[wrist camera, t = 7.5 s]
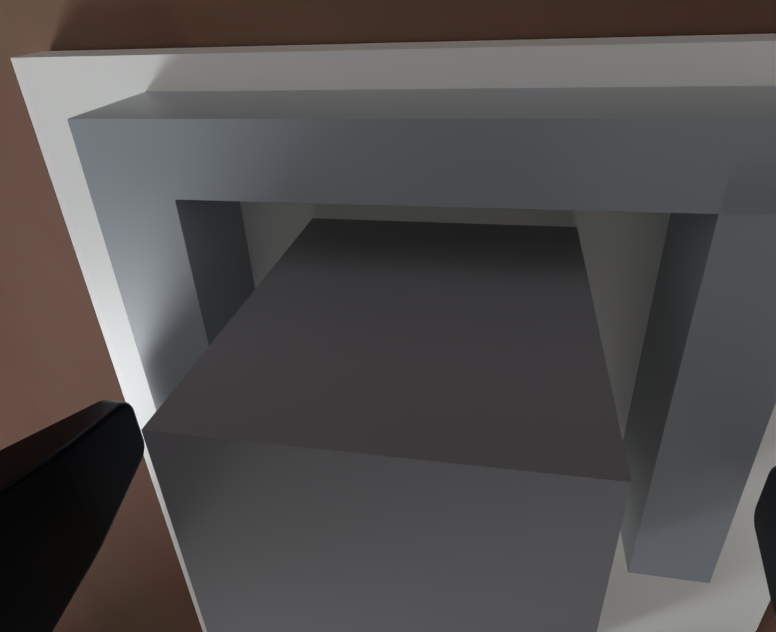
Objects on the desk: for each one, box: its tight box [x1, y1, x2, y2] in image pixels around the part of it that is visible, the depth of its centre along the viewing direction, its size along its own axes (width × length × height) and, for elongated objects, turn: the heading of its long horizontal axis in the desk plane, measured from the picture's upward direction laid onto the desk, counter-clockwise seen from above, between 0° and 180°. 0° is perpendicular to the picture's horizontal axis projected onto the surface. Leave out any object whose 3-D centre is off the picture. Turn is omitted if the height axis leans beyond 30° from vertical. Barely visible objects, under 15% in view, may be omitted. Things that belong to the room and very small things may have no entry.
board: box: [11, 33, 776, 632], centre depth 11 cm, size 17×13×4 cm
